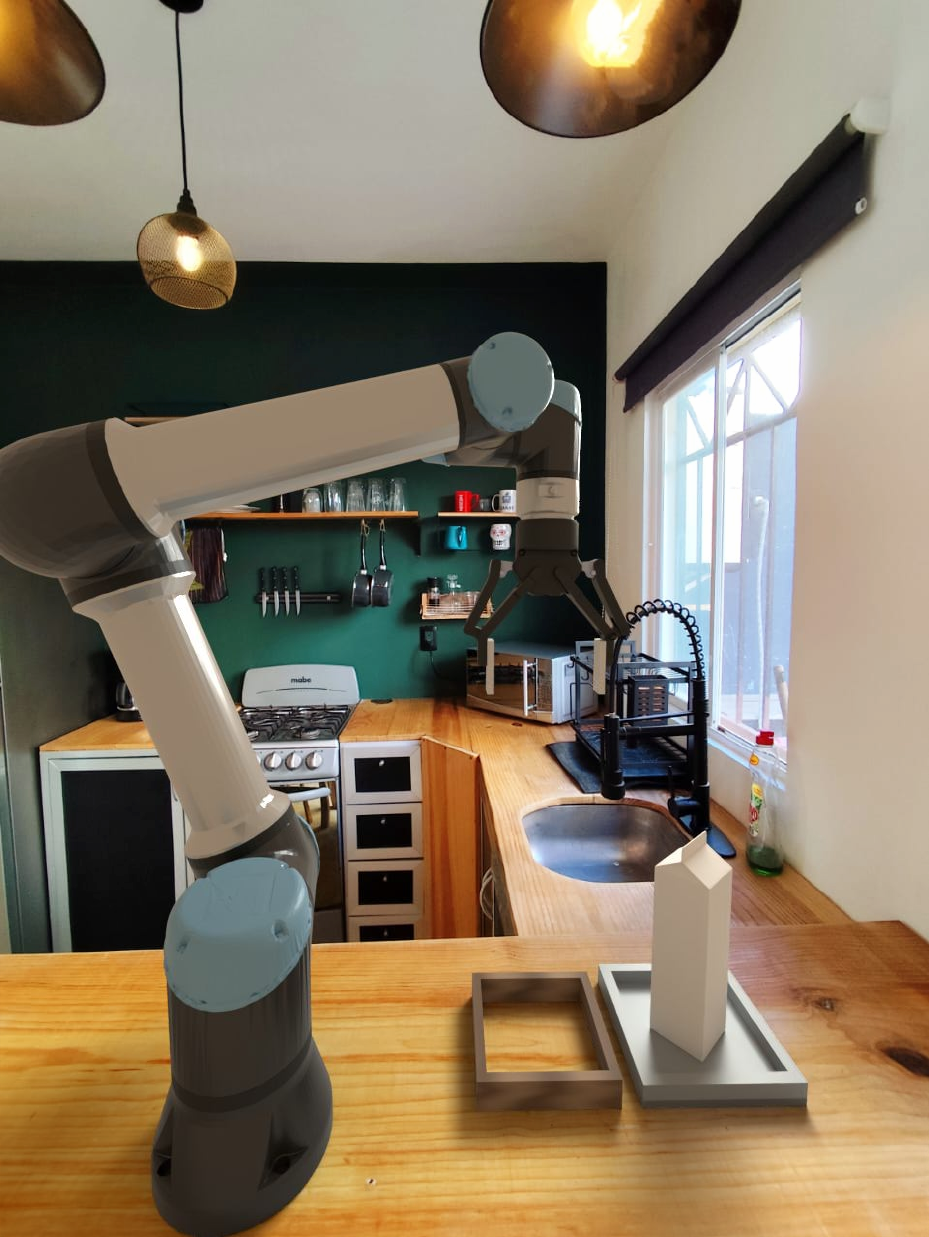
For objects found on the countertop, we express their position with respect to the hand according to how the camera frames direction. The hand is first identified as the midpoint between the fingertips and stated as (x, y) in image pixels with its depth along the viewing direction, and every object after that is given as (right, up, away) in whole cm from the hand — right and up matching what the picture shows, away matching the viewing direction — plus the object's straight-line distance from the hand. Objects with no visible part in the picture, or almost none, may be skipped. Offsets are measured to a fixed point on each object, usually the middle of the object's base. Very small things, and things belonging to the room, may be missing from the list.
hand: (544, 692), depth 66 cm
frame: (-2, -38, -8) cm, 38 cm away
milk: (+15, -37, -7) cm, 40 cm away
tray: (+15, -37, -7) cm, 41 cm away
